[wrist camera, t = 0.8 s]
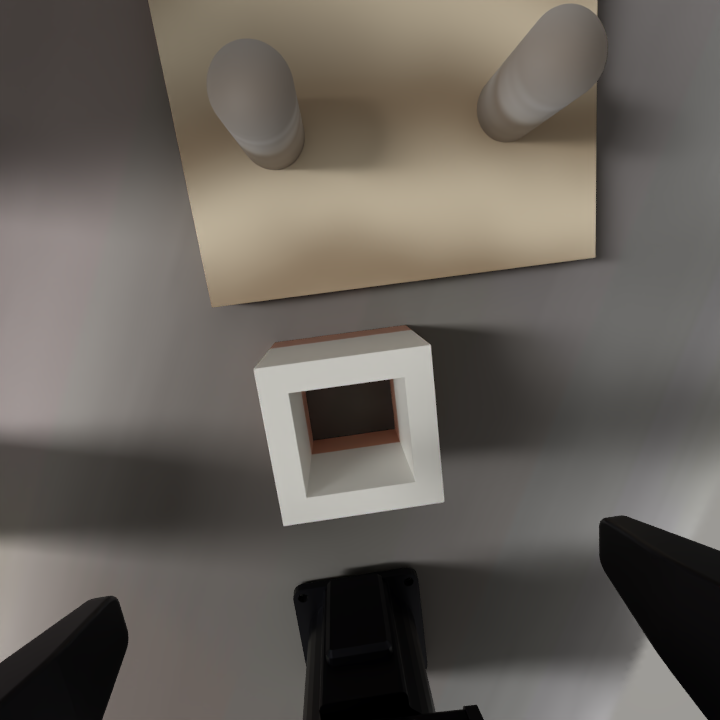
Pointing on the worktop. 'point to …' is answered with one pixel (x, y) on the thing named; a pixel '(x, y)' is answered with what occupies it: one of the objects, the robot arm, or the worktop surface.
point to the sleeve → (354, 452)
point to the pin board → (382, 137)
